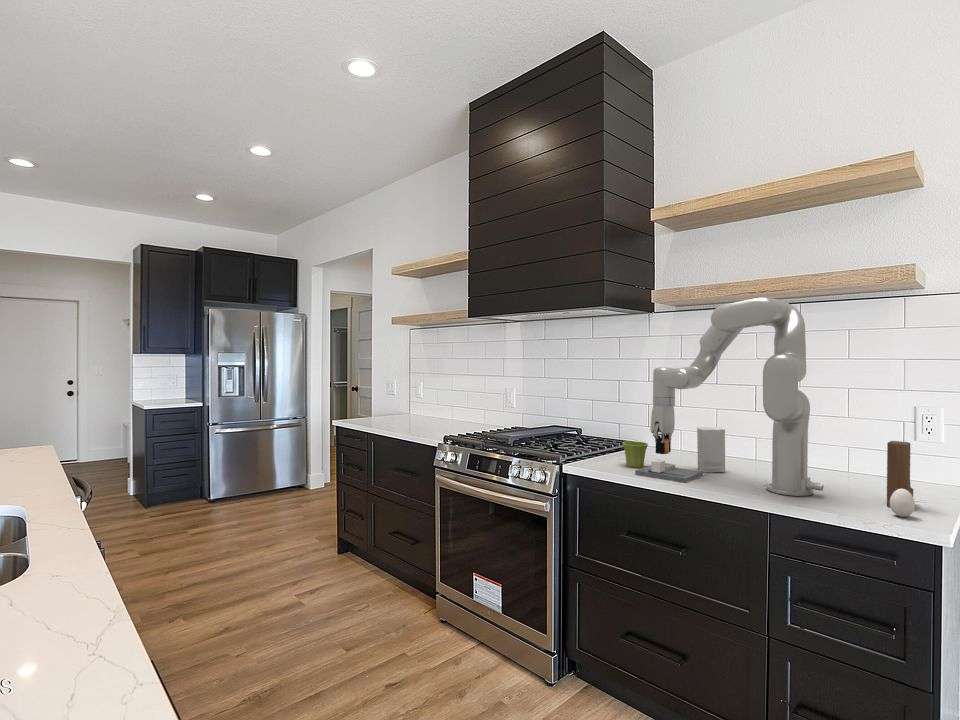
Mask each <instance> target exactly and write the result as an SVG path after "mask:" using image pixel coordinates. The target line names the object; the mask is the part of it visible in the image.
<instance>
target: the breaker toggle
mask: <svg viewBox="0 0 960 720" xmlns="http://www.w3.org/2000/svg"><path fill="white" fill-rule="evenodd" d="M665 463H666V460H663V459H655V460H652V461H651V465H650V466H651V471H652V472H658V473H660V472H663V471H665Z"/></svg>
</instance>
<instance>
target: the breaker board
mask: <svg viewBox="0 0 960 720" xmlns="http://www.w3.org/2000/svg"><path fill="white" fill-rule="evenodd" d="M634 471H635V473H634V475H636V476H640V477H641V476H642V477H648V478H653V479H659V480H666V481H671V480H672V481H671V482H677V481H678V483H683V484H686V483H688V482H689V483H690V482H691V481H694V480H696V479H698V478H701V477H703V474H704V473H703V472H702V471H700V470H695V469H686V468H680V467H675V468H672V469H669V470H665V471H663V472H660V473H658V472H652V471H651V465H648V466H645V467H644V466H643V467H641V468H637V469H635V470H634Z"/></svg>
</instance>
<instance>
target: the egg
mask: <svg viewBox="0 0 960 720" xmlns="http://www.w3.org/2000/svg"><path fill="white" fill-rule="evenodd" d="M889 508H890V509H891V511H892V512H893V513H894V514H895V516H897V517H901V518H906V517H910V516H911V515H912V514H913V513H914V512H915V508H916V502H915V499H914V495H913V496H912V495H911V493H910V492H908V491H907V490H905V489H898V490H896V491H895V492H894V493H893V494H892V496H891V498H890V507H889Z"/></svg>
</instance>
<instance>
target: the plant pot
mask: <svg viewBox="0 0 960 720" xmlns="http://www.w3.org/2000/svg"><path fill="white" fill-rule="evenodd" d="M622 446H623V449H624V455H625V463H626V464H625V465H626V467H628V466H629V468H635V467H641V468H644V465H645V460H646V459H645V458H646V452H647V449H648V448H647V447H648V446H649V443H648V442H643V441H637V440H635V441H631V440H630V441H623V442H622Z"/></svg>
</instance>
